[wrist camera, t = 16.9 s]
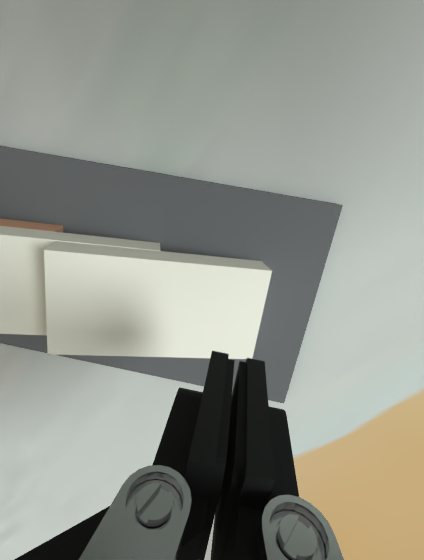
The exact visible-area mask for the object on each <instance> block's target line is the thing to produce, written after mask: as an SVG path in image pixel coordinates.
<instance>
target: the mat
mask: <svg viewBox="0 0 424 560" xmlns="http://www.w3.org/2000/svg"><path fill="white" fill-rule="evenodd" d="M341 209H342V205H340V204H334V203H328V202H322V201H316V200H311V199H305V198H299V197H293V196H287V195H282V194H276V193H270V192H264V191H258V190H253V189H247V188H241V187H235V186H229V185H224V184H218V183H212V182H206V181H200V180H195V179H189V178H183V177H177V176H171V175H165V174H160V173H154V172H148V171H142V170H136V169H131V168H125V167H119V166H113V165H107V164H102V163H96V162H90V161H84V160H78V159H73V158H67V157H61V156H55V155H49V154H44V153H38V152H32V151H26V150H20V149H14V148H9V147H3V146H0V218H1V219H10V220H19V221H28V222H36V223H45V224H54V225H63V233H72V234H81V235H90V236H100V237H109V238H118V239H128V240H137V241H146V242H156V243H160V250H161V251H165V252H175V253H185V254H195V255H206V256H216V257H226V258H236V259H246V260H256V261H262V262H263V263H264V264H265V265H266V266H267V267H269V268H270V269H271V270H272V274H271V278H270V283H269V287H268V292H267V296H266V300H265V305H264V309H263V314H262V318H261V323H260V327H259V331H258V336H257V340H256V345H255V349H254V354H253V358H252V359H256V360H261V361H264V362H265V371H266V383H267V395H268V400H271V401H276V402H280V403H284V401H285V398H286V394H287V391H288V388H289V384H290V381H291V378H292V374H293V371H294V367H295V364H296V361H297V357H298V354H299V351H300V347H301V344H302V340H303V337H304V334H305V330H306V327H307V324H308V320H309V317H310V313H311V310H312V307H313V303H314V300H315V297H316V293H317V290H318V286H319V283H320V280H321V276H322V273H323V270H324V266H325V263H326V259H327V256H328V253H329V249H330V246H331V243H332V239H333V236H334V232H335V229H336V226H337V222H338V219H339V216H340V212H341ZM0 343H3V344H7V345H12V346H17V347H21V348H26V349H31V350H36V351H40V352H45V353H48V352H47V335H22V334H0ZM59 356H64V357H69V358H73V359H78V360H83V361H87V362H92V363H97V364H101V365H106V366H111V367H116V368H120V369H125V370H130V371H134V372H139V373H144V374H149V375H153V376H158V377H163V378H167V379H172V380H177V381H182V382H186V383H191V384H196V385H200V386H204V385H205V381H206V376H207V371H208V367H209V362H210V358H176V357H135V356H93V355H59ZM233 360H235V362H234V374H233V386H232V392H233V388H234V383H235V379H236V374H237V370H238V365H239V362H240V361H243V362H246V359H233Z"/></svg>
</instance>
